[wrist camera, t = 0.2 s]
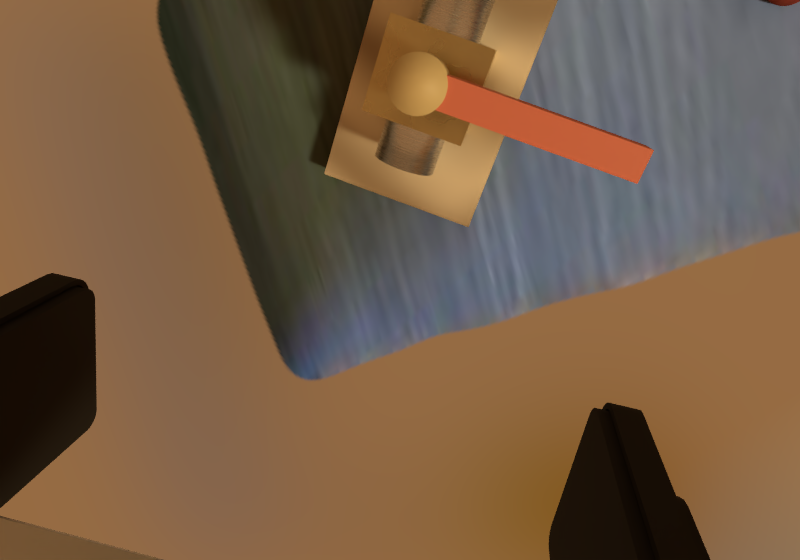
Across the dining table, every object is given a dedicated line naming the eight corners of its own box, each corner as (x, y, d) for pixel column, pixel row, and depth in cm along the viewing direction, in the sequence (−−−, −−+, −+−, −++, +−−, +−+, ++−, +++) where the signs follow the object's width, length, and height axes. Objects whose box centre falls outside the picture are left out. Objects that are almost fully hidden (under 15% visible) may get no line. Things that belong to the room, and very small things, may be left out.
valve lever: (385, 101, 30) (378, 104, 28) (404, 43, 29) (397, 42, 27) (624, 188, 29) (631, 196, 28) (651, 132, 28) (660, 137, 26)
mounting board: (405, -92, 35) (401, -98, 33) (569, -34, 34) (572, -38, 33) (330, 169, 41) (324, 173, 39) (469, 221, 40) (468, 227, 39)
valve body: (421, -27, 34) (400, -48, 27) (513, 6, 34) (516, -6, 27) (369, 141, 38) (340, 160, 31) (452, 171, 38) (441, 197, 31)
